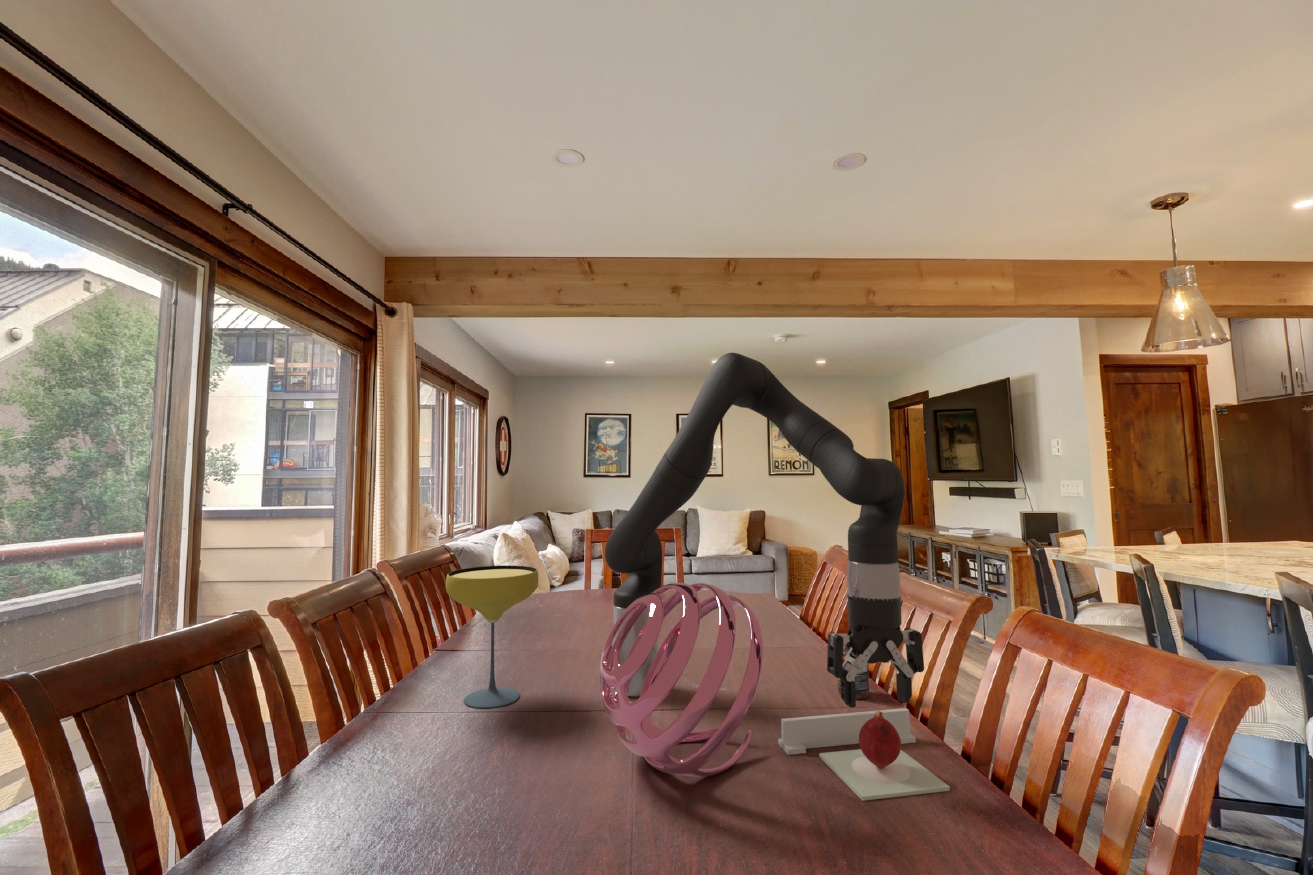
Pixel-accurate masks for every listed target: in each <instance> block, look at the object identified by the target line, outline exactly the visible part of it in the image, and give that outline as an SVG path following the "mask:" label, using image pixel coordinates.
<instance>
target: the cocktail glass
mask: <svg viewBox="0 0 1313 875" xmlns="http://www.w3.org/2000/svg"><path fill="white" fill-rule="evenodd" d="M538 586H539V571H538V569H537V568H535V567H531V566H526V565H525V566H524V565H486V566H475V567H473V566H472V567H467V568H461V569H456V570H453V571H450V572H448V573H447V575H446V578H445V590H446V593H447V595H448V596H449V597H450V598H451V599H452V600H453V601H455V602H457V603H458V604H461V605H463V606H465V607H467V608H469V609H471V610H474V611H476V612H478V613H479V614H481V615H482V616H483V618H484V619H485V620H486V622H488V623H490V627H491V628H490V630H491V631H490V669H489V670H490V672H489V673H490V674H489V675H490V676H489V683H488V688H483V689H479V690H477V691H473V692H471V693H470V694H467V695H466V696H465V697H464V698H463V703H464V705H466V706H467V707H469V706H471V707H470V708H473V707H474V709H485V710H486V709H495V708H501V707H504V706H508V705H511V704H513V703H515V702H516V701H518V700H519V699H520V696H521V693H520V691H519V690H516V689H514V688H509V687H497V685H496V680H495V678H496V677H495V623H497V622H498V621H499V620H500V619H501V618H502V616H503V614H504V613H505V612H506V611H508V610H510V609H511V608H513V607H514V606H516V605H518V604H520V603H521V602H523V601H525V600H526V599H528V598H529V597H531V596H532V594H534V593H535V591H536V590H537V589H538Z"/></svg>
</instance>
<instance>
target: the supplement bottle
mask: <svg viewBox="0 0 1313 875" xmlns="http://www.w3.org/2000/svg"><path fill="white" fill-rule="evenodd" d="M850 648H851V646H850V644H849V643H847V644H846V648H845V649H843V663H844V661H845V656H846V655H847V653H848V652H849V650H850ZM857 658H858V656H857V657H856V659H857ZM853 681H854V682H855V693H856V700H860V699H861V700H863V699H866V698H868V697H869V696H870V675H869V663H866V664H865V666H864V668H863V669H861V670H859V671H858V673H857V675H856V676H855V678H854V679H853ZM837 691H838V693H839V694H840V695H841V682H840V678H837ZM862 698H863V699H862Z"/></svg>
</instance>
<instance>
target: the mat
mask: <svg viewBox="0 0 1313 875" xmlns="http://www.w3.org/2000/svg"><path fill="white" fill-rule="evenodd" d="M818 756H819V757H818V758H820V760H822V761H823V762H824V763H825V764H826V765H827V766H828V767H829V768H830V769H831V771H833V772H834V773H835V774H836V775H837V776H838V777H839V778H840V779H841V781H842V782H843V783H845V785H847V787H848V788H849V789H850V790H852V792H853V793H854V794H855V795H857V797H858V798H859V799H860V800H861V801H862V802H863V801H873V800H879V799H880V800H881V799H889V798H899V797H907V796H915V795H923V794H932V793H933V794H934V793H941V792H943V793H944V792H950V791H951V788H950V786H949V785H948V784H946V783H945V782H944V781H943V780H941V779H940V778H938V777H937V776H936V775H935V774H933V773H932V772H931V771H930V770H928V769H927V768H925V767H924V766H923V764H920V763H919V762H918V761H916V760H915V759H914V758H913V757H911V755H909V754H907V753H906V752H905V751H903V750H902V749H901V750H900V754H899V756H898V757H897V759H896V760H895V761H894V762H893V763H891V764H889V765H888V766H886V767H884V768H878V767H877V766H875V765H874V764H872V763H871V762H870V761H869V760H868V759H867V758H866V757H865V755H864V754H863V752H862V750H861V748H858V749H850V750H849V749H848V750H840V751H839V750H837V751H829V752H828V751H827V752H820V753H818Z"/></svg>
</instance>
